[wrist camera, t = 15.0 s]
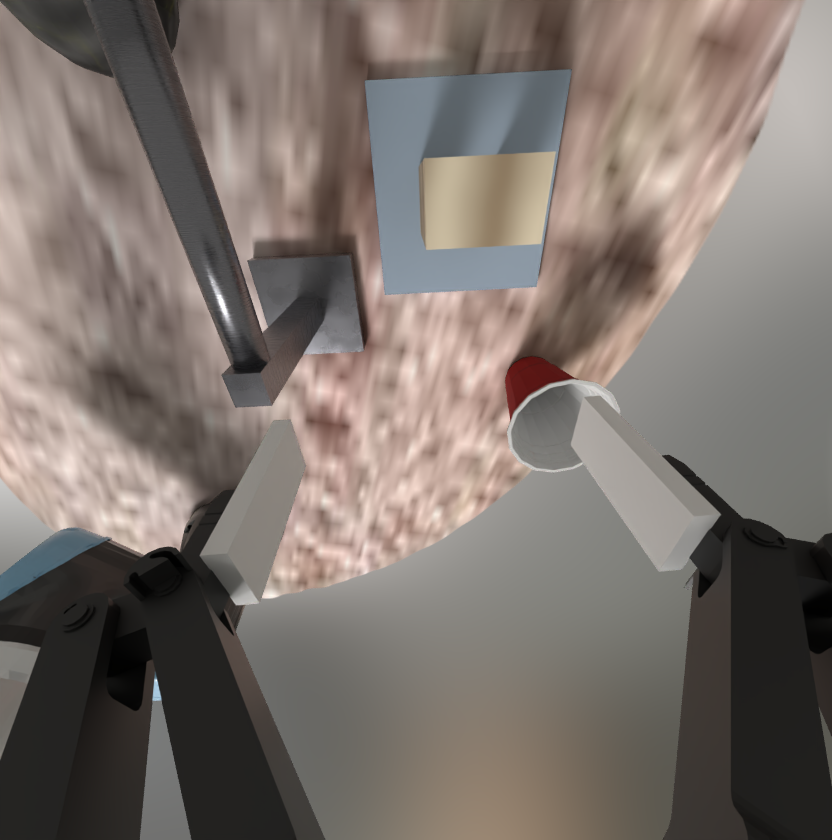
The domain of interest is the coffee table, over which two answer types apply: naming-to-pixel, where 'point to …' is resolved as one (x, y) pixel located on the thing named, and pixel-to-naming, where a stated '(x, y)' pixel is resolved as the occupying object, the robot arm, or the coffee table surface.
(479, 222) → the wooden u-bracket
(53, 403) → the coffee table surface
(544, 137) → the mat
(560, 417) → the plastic cup
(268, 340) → the stand
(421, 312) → the coffee table surface
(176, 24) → the decorative stone
